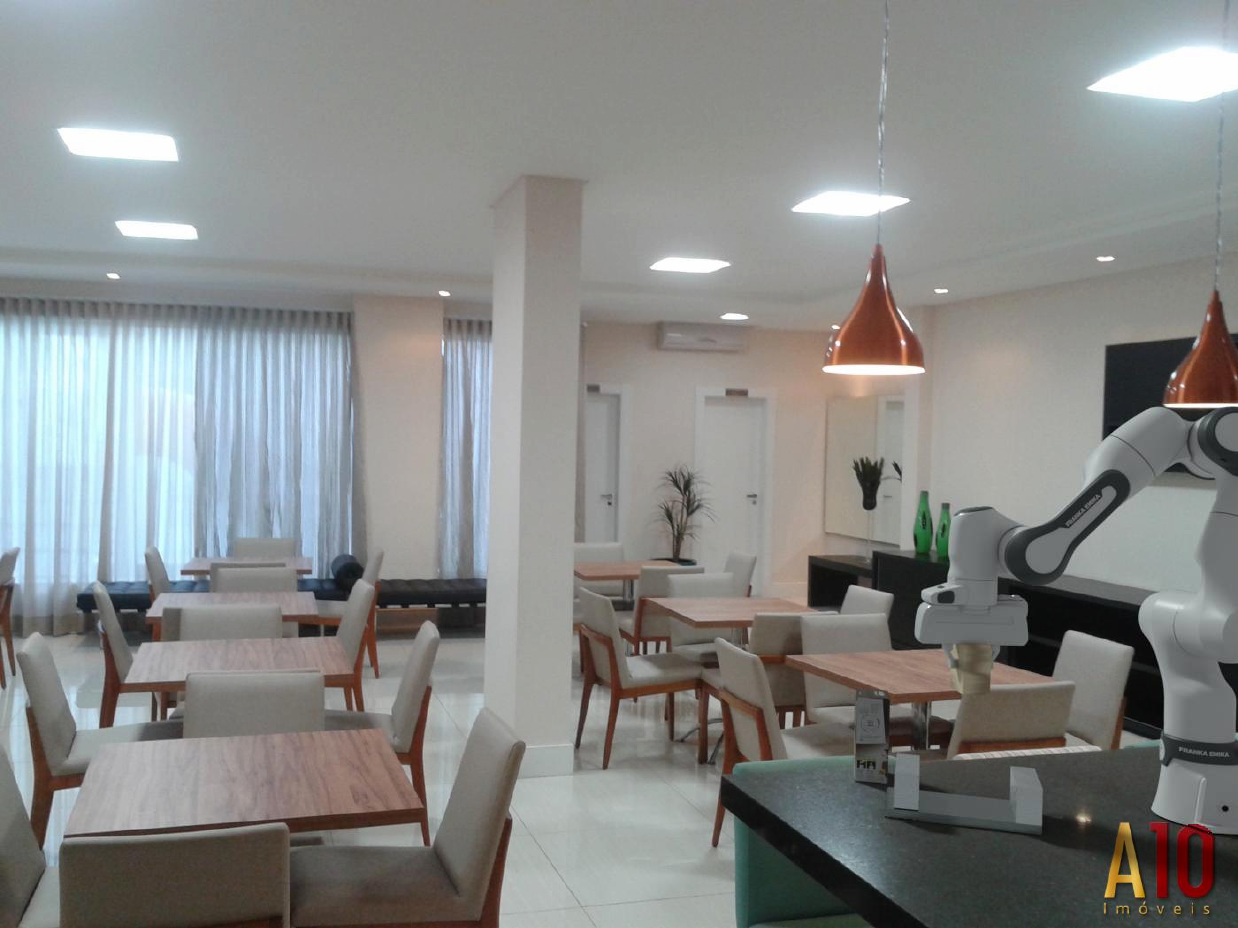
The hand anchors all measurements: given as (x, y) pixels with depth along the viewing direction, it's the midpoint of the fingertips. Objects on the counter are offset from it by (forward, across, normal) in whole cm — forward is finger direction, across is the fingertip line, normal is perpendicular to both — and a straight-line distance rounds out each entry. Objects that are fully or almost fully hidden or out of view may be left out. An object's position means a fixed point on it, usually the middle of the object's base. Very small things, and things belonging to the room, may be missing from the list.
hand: (970, 668), depth 196 cm
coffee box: (+23, +16, -9) cm, 29 cm away
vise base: (+23, +6, +13) cm, 27 cm away
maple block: (+4, 0, 0) cm, 4 cm away
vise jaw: (+21, +14, +10) cm, 27 cm away
